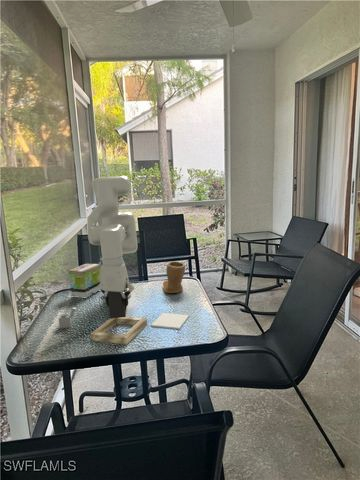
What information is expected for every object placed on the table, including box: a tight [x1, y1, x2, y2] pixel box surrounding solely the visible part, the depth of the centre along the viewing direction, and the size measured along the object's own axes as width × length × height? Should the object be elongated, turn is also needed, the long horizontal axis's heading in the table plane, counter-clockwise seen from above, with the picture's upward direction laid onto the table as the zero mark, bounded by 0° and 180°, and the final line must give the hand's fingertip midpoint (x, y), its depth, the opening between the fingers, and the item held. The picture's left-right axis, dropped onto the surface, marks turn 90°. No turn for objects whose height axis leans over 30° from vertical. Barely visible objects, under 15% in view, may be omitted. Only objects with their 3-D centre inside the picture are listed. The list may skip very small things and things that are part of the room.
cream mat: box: [150, 312, 190, 330], centre depth 135 cm, size 12×12×1 cm
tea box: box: [68, 263, 101, 298], centre depth 175 cm, size 15×10×15 cm, turn 160°
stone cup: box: [162, 261, 186, 294], centre depth 172 cm, size 15×12×15 cm
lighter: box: [58, 306, 77, 329], centre depth 136 cm, size 7×2×8 cm, turn 100°
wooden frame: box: [89, 316, 148, 345], centre depth 128 cm, size 15×17×2 cm
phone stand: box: [108, 291, 128, 320], centre depth 126 cm, size 9×6×12 cm, turn 6°
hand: (117, 305), depth 127 cm, fingers closed on phone stand, 6 cm apart
